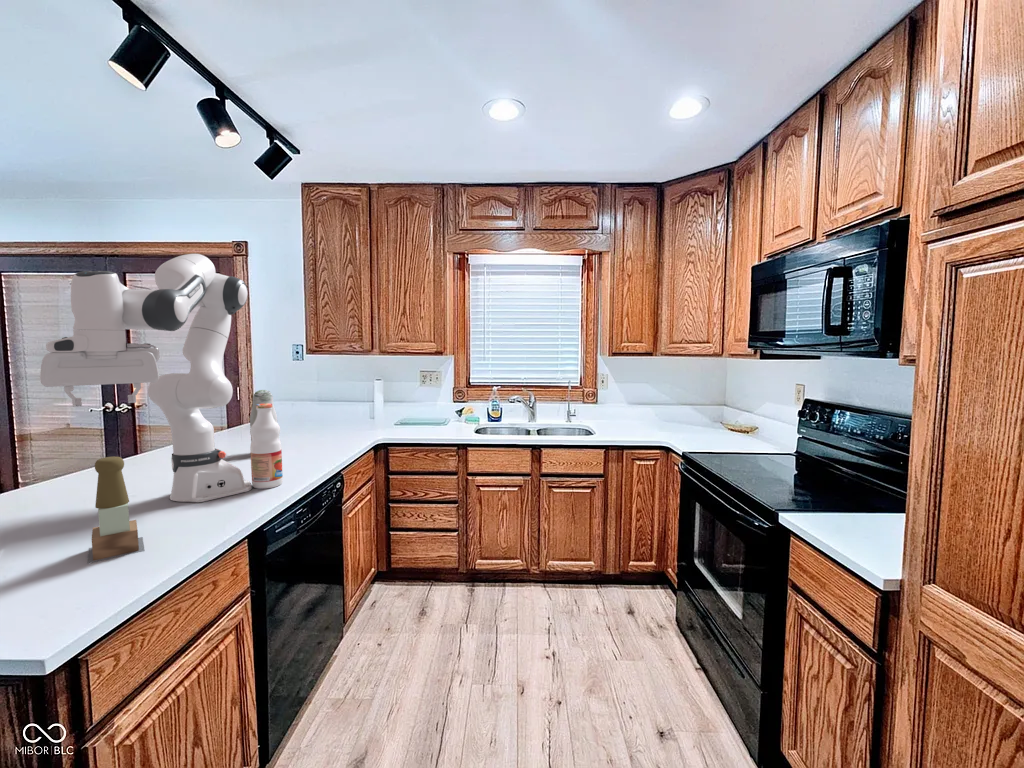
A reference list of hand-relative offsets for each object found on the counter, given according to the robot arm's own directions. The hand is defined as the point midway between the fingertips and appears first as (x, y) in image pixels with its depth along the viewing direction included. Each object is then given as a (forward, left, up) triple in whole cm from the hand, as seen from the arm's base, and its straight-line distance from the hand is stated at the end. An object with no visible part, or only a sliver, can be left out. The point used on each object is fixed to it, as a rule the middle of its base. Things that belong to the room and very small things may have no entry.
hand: (105, 404), depth 107 cm
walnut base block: (0, 0, -34) cm, 34 cm away
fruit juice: (-40, -34, -35) cm, 63 cm away
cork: (0, 0, -24) cm, 24 cm away
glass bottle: (-50, -82, -35) cm, 102 cm away
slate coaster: (0, 0, -35) cm, 35 cm away
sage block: (0, 0, -29) cm, 29 cm away
